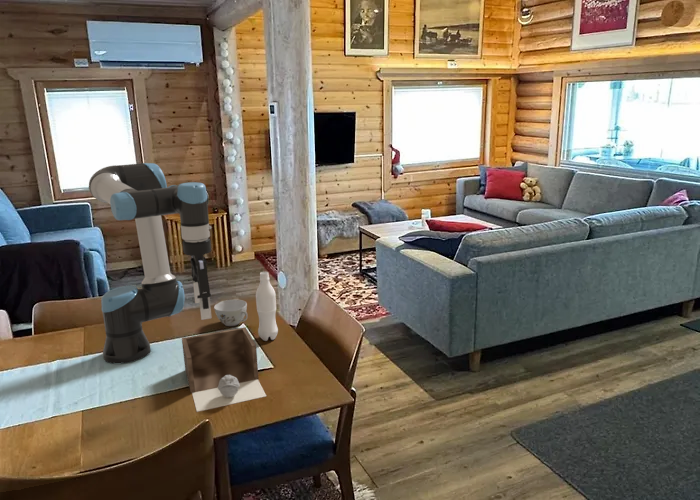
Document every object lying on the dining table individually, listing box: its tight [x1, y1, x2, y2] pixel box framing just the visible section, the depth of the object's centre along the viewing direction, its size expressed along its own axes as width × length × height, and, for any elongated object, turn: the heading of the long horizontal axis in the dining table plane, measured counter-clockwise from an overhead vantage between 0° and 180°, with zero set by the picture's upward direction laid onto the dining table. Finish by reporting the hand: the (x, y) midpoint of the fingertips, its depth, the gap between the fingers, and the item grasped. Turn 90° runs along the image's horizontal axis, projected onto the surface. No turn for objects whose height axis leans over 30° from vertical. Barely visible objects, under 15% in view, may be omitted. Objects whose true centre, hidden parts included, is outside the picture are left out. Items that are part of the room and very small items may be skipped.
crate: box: [181, 327, 259, 394], centre depth 164 cm, size 20×15×12 cm
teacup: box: [213, 298, 248, 327], centre depth 207 cm, size 15×12×8 cm
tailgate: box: [191, 379, 267, 413], centre depth 153 cm, size 19×2×11 cm
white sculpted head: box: [217, 375, 240, 398], centre depth 151 cm, size 6×7×7 cm
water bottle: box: [255, 271, 279, 342], centre depth 192 cm, size 7×7×25 cm
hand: (202, 310), depth 153 cm, fingers open, 13 cm apart
